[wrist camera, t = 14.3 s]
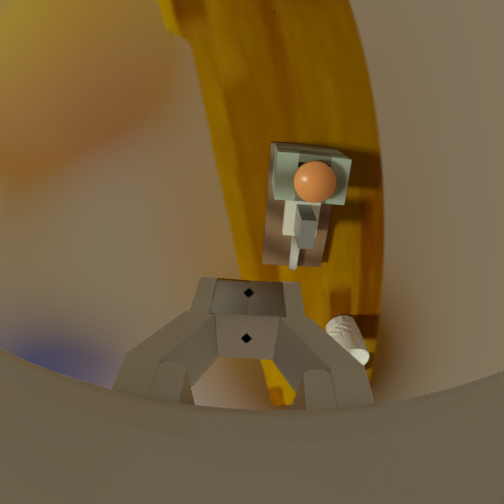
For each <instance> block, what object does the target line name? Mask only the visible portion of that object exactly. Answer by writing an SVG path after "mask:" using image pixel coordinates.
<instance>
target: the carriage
mask: <svg viewBox="0 0 504 504" xmlns="http://www.w3.org/2000/svg"><path fill="white" fill-rule="evenodd" d="M320 207H321V203H310V202H303V201H289V200H285V208H284V218H283V228H282V234H283V235H290V236H295V238H296V242H297V247H298V248H300V249H313V246H314V240H315V237H316V232H317V226H318V220H319V213H320Z"/></svg>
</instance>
